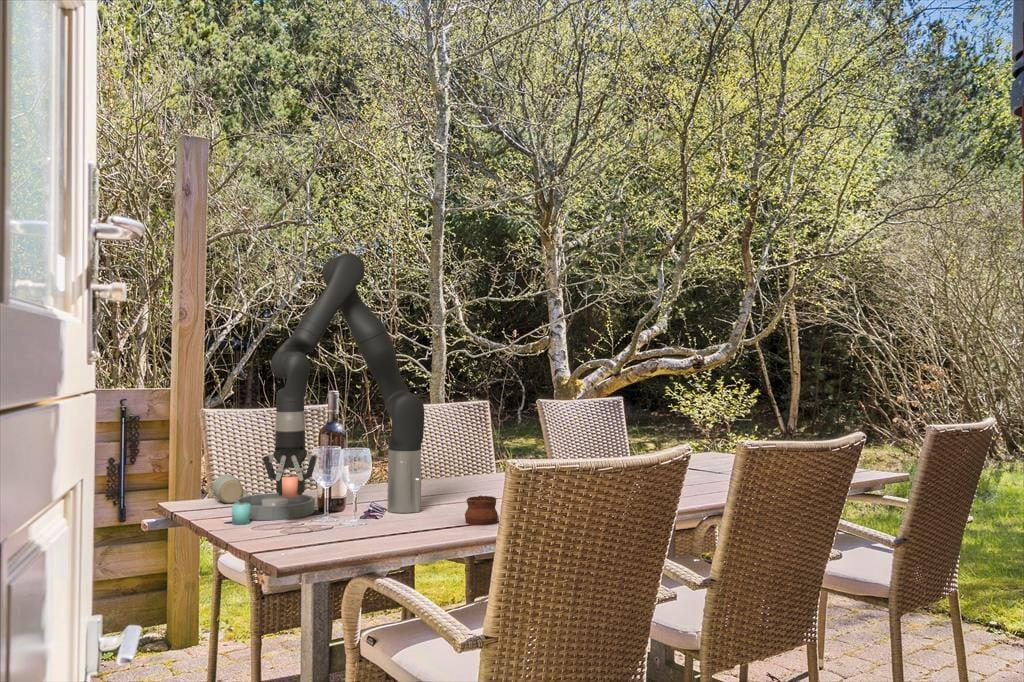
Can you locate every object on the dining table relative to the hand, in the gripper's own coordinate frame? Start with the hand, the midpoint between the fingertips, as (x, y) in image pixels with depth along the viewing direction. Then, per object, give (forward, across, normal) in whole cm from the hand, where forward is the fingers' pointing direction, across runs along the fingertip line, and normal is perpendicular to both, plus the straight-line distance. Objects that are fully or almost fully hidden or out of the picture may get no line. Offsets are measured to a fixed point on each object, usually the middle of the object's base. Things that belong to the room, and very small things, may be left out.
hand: (290, 494), depth 223 cm
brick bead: (0, 0, 0) cm, 0 cm away
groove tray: (+8, +8, -15) cm, 19 cm away
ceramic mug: (+8, +23, -31) cm, 40 cm away
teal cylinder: (+7, +13, 0) cm, 15 cm away
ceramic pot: (+9, -49, -4) cm, 50 cm away
